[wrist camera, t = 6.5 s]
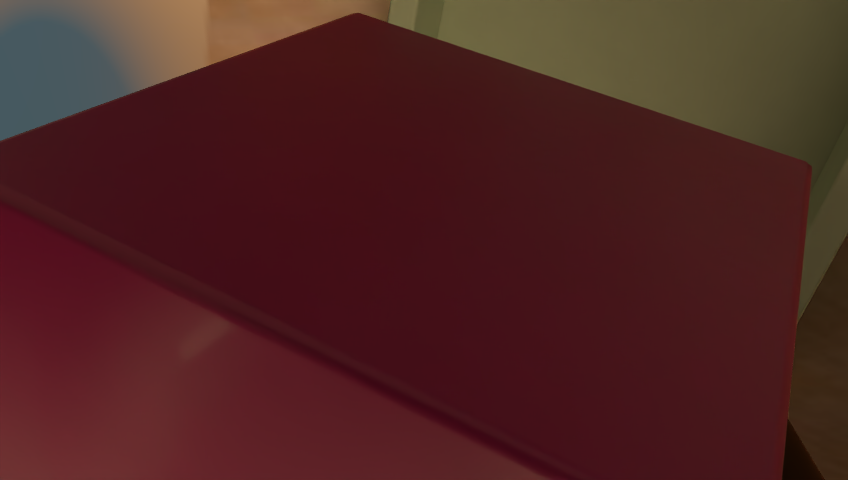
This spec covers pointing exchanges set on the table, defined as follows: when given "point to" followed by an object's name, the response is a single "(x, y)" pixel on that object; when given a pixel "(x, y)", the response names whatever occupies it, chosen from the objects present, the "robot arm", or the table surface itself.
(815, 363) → the table surface
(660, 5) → the tray
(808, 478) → the robot arm
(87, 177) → the mulberry block
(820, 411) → the table surface
